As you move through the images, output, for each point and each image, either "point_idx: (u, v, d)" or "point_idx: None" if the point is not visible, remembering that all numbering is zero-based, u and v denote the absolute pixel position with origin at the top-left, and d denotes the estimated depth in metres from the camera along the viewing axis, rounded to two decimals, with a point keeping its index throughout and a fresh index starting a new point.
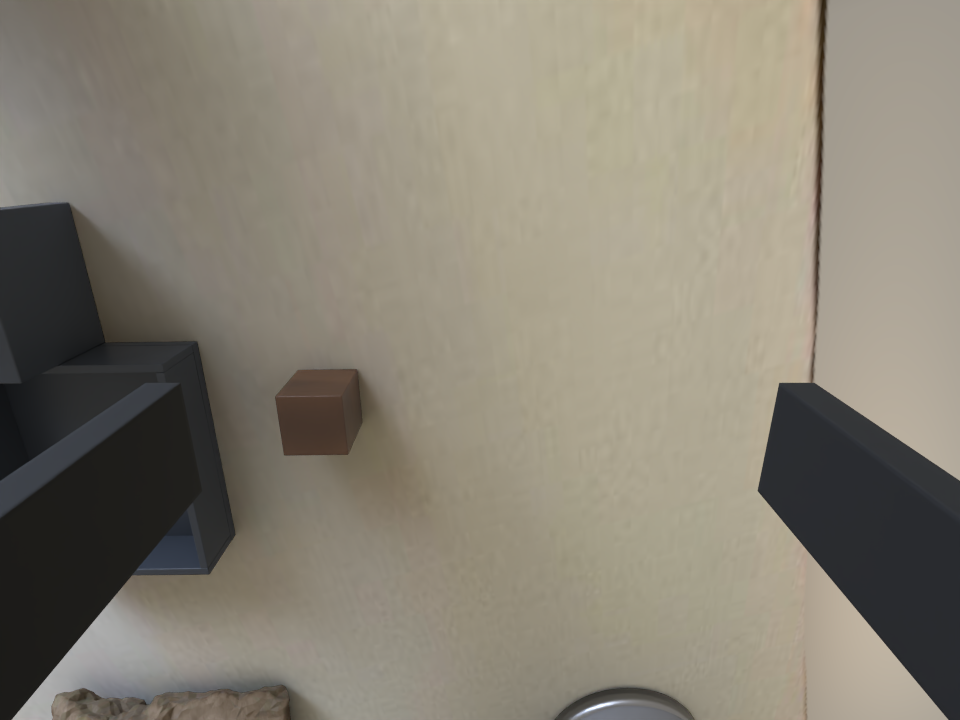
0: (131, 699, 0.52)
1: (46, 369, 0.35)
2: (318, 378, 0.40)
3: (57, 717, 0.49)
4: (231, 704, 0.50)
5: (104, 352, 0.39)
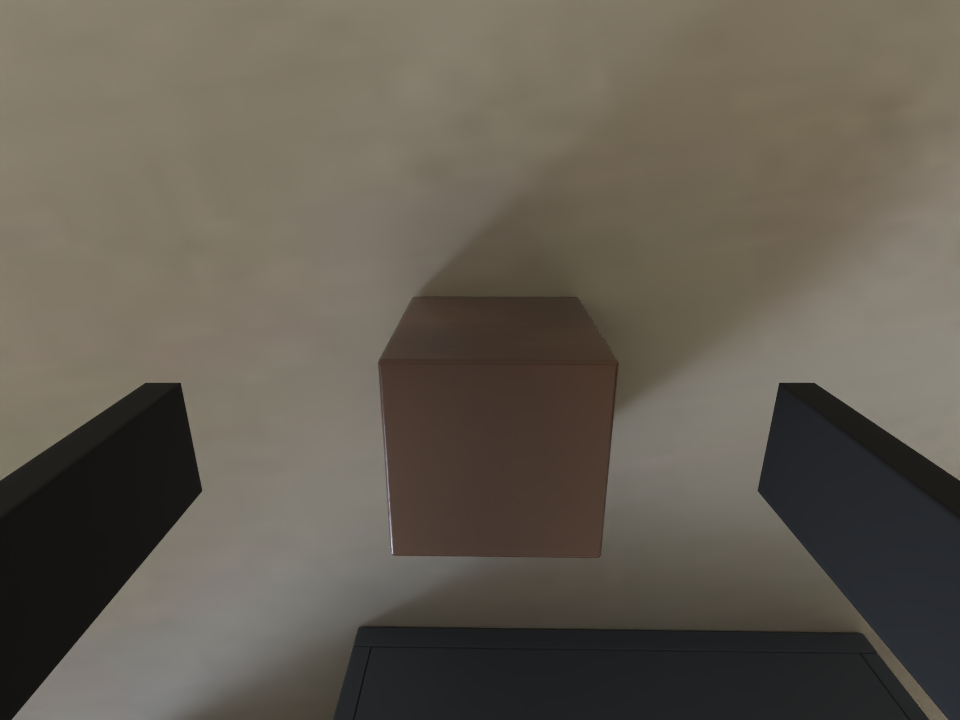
0: None
1: None
2: None
3: None
4: None
5: None
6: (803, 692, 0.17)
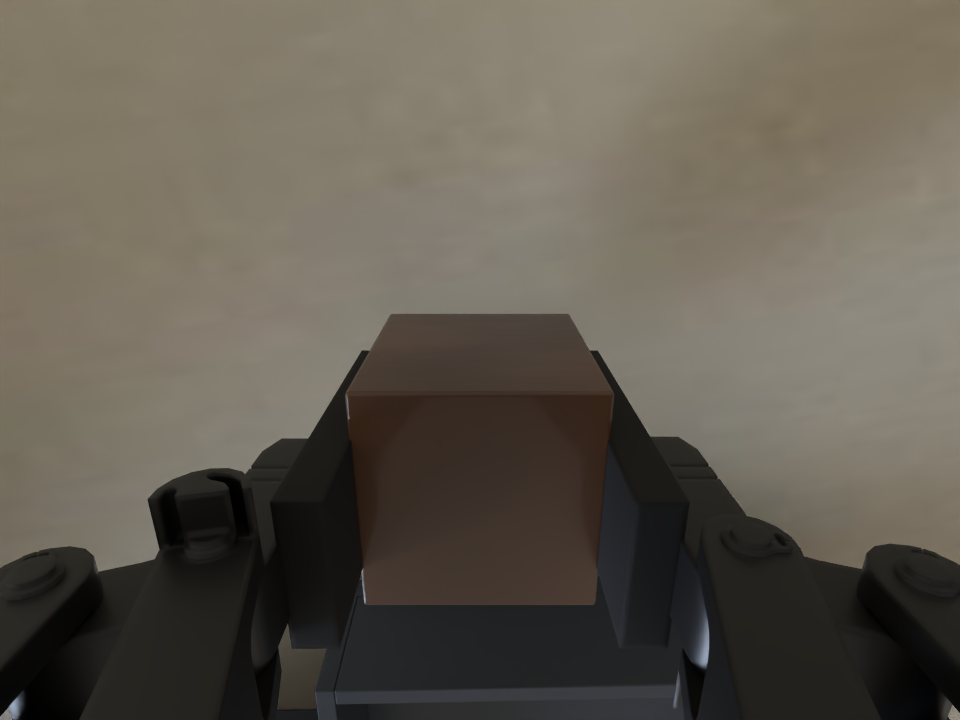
0: None
1: None
2: None
3: None
4: None
5: None
6: None
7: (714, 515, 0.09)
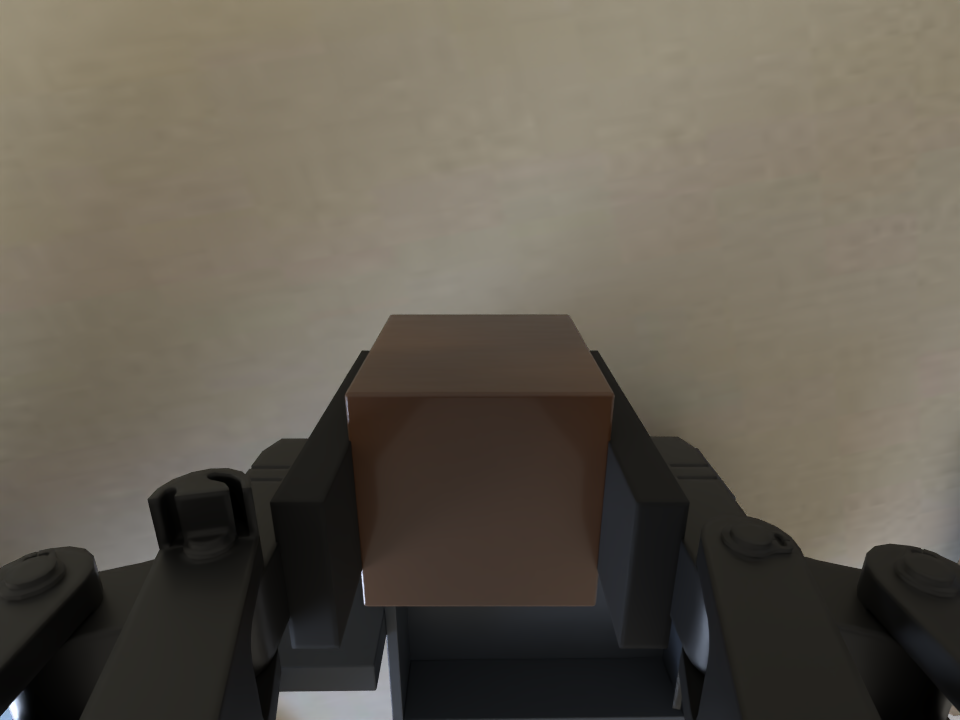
0: None
1: (378, 629, 0.28)
2: None
3: None
4: None
5: None
6: None
7: (714, 515, 0.09)
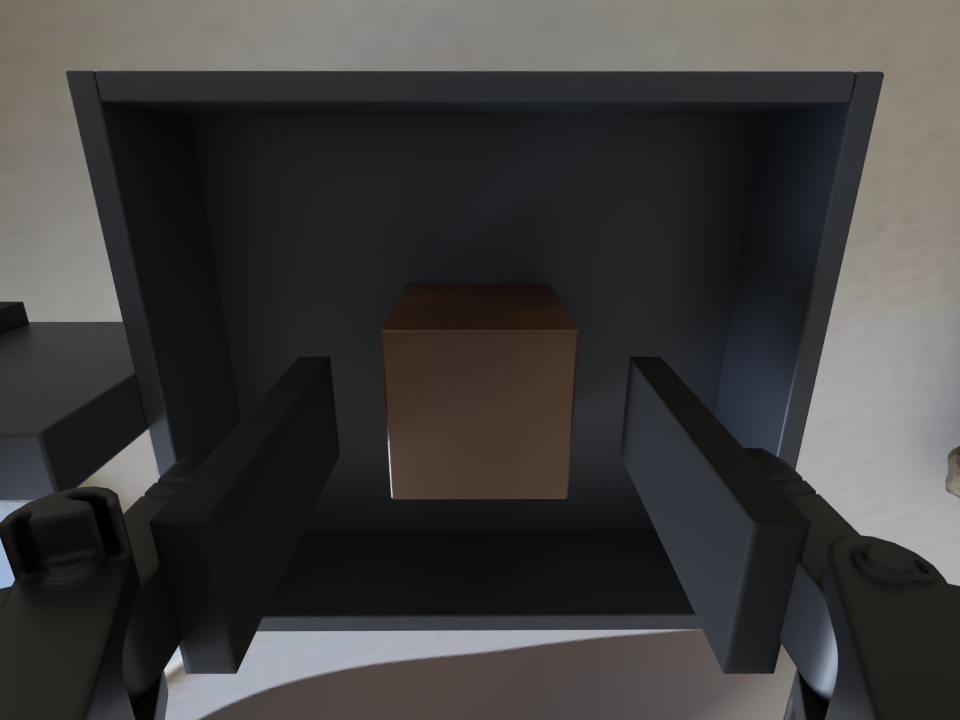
0: None
1: (101, 391, 0.13)
2: None
3: None
4: None
5: None
6: None
7: (825, 534, 0.08)
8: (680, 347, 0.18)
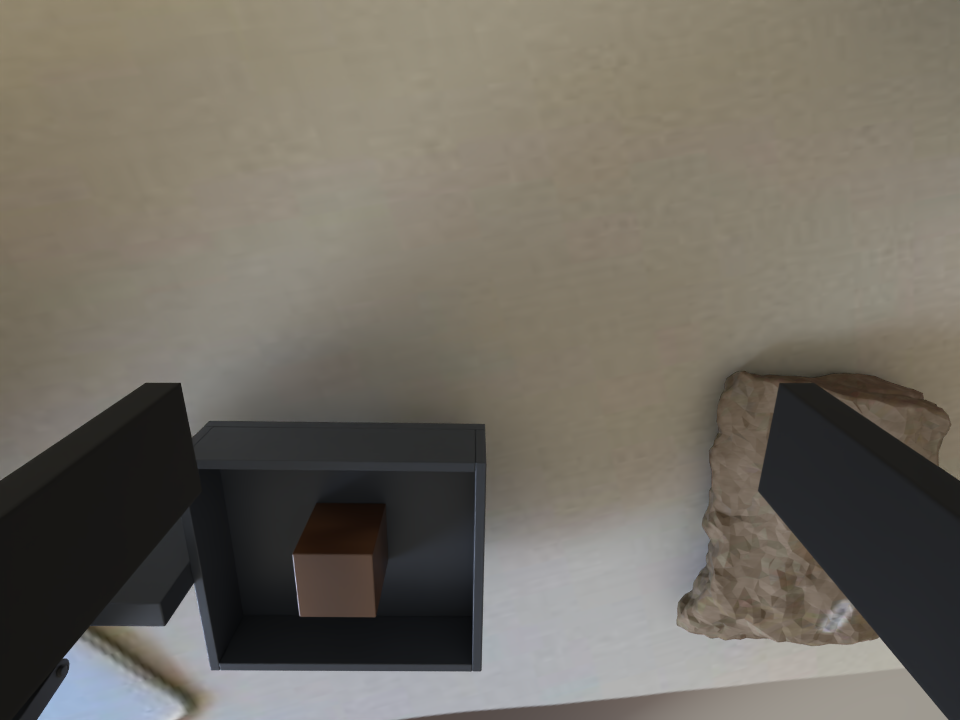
0: (708, 553, 0.42)
1: (177, 575, 0.31)
2: None
3: (698, 630, 0.41)
4: (727, 443, 0.37)
5: None
6: (431, 440, 0.33)
7: None
8: (452, 531, 0.37)
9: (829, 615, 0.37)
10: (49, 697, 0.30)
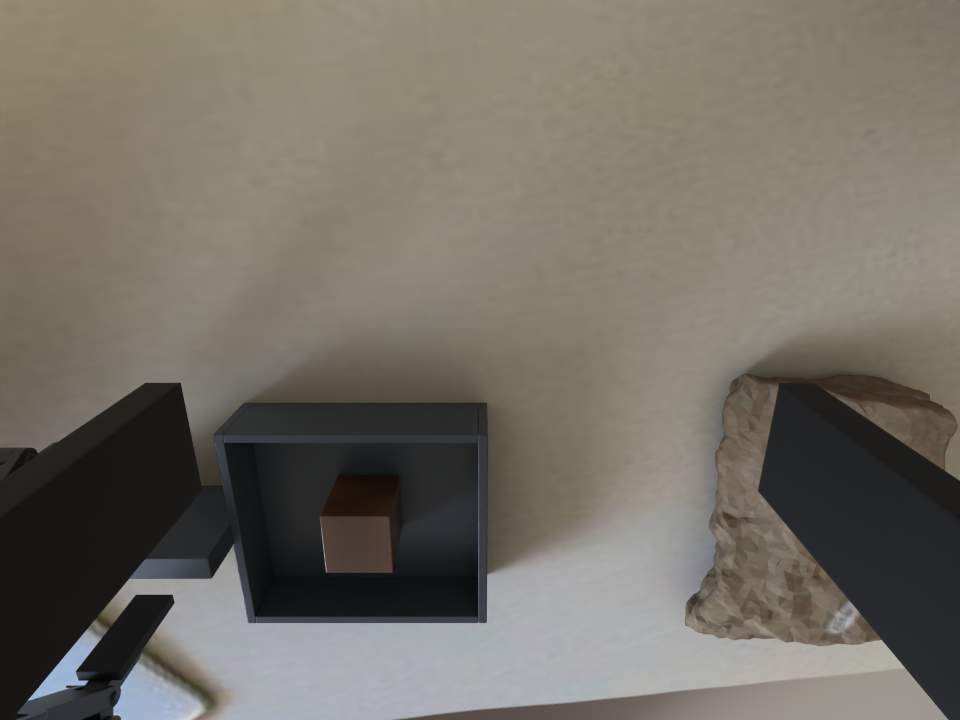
0: (716, 554, 0.42)
1: (220, 536, 0.36)
2: None
3: (706, 630, 0.42)
4: (733, 445, 0.37)
5: None
6: (439, 417, 0.37)
7: None
8: (459, 499, 0.41)
9: (836, 615, 0.37)
10: None
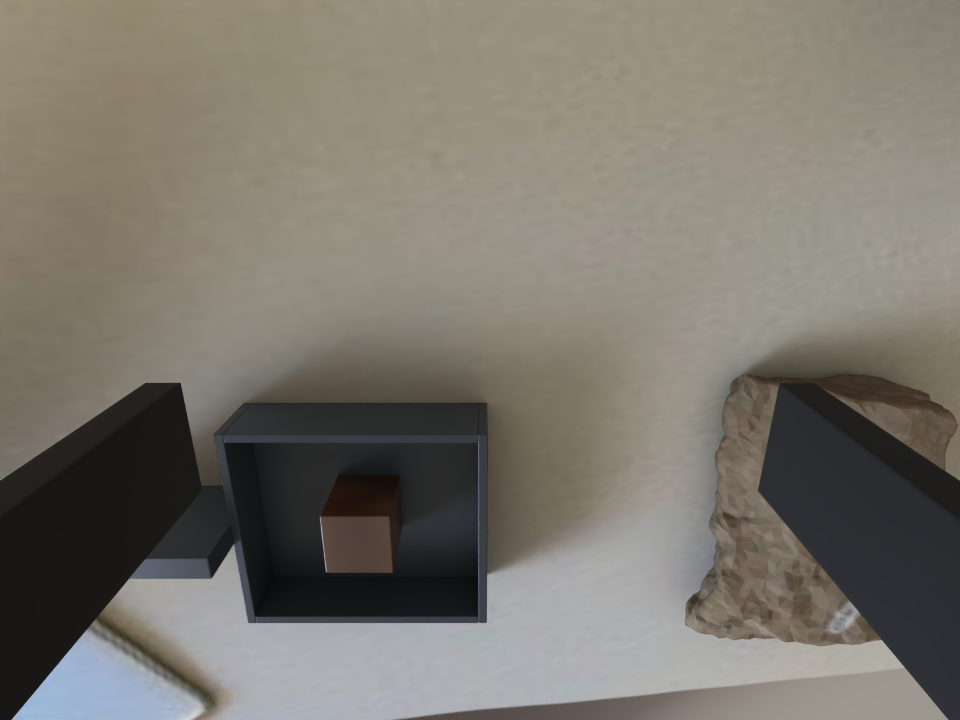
0: (716, 554, 0.42)
1: (220, 536, 0.36)
2: None
3: (706, 630, 0.42)
4: (733, 445, 0.37)
5: None
6: (439, 417, 0.37)
7: None
8: (459, 499, 0.41)
9: (836, 615, 0.37)
10: None
